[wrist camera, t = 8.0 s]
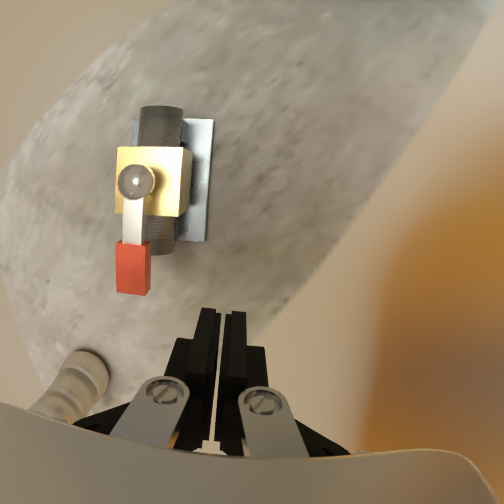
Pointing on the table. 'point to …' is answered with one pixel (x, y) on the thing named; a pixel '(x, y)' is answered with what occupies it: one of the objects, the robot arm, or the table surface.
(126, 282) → the lever
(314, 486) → the robot arm
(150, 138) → the valve
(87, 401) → the plastic bottle
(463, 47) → the table surface
